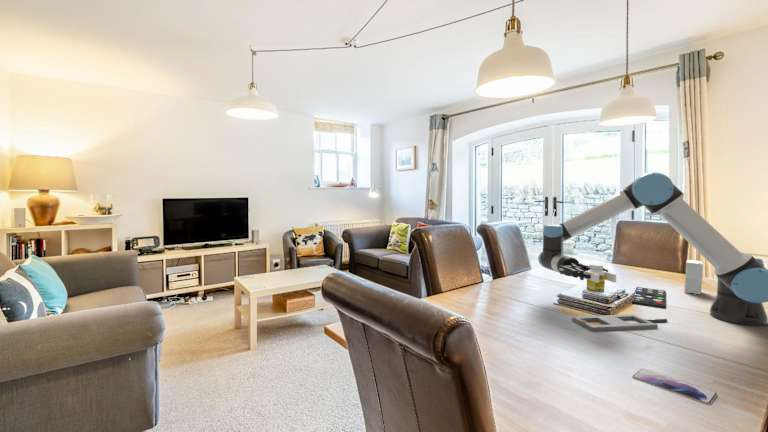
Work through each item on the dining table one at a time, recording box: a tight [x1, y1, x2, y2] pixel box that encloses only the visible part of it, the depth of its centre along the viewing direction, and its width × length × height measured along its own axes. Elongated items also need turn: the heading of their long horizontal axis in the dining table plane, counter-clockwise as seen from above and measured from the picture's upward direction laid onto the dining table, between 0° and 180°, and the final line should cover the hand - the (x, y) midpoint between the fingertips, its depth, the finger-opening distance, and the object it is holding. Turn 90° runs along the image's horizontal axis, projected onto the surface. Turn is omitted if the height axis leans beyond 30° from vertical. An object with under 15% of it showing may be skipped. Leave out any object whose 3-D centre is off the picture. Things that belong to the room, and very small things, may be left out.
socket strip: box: [571, 313, 668, 332], centre depth 127 cm, size 32×11×2 cm, turn 95°
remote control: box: [631, 286, 667, 309], centre depth 159 cm, size 11×30×2 cm, turn 141°
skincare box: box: [683, 259, 704, 295], centre depth 166 cm, size 8×6×15 cm
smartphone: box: [631, 368, 718, 406], centre depth 85 cm, size 7×1×15 cm
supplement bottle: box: [586, 263, 606, 295], centre depth 125 cm, size 5×5×10 cm
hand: (606, 278), depth 120 cm, fingers closed on supplement bottle, 5 cm apart
